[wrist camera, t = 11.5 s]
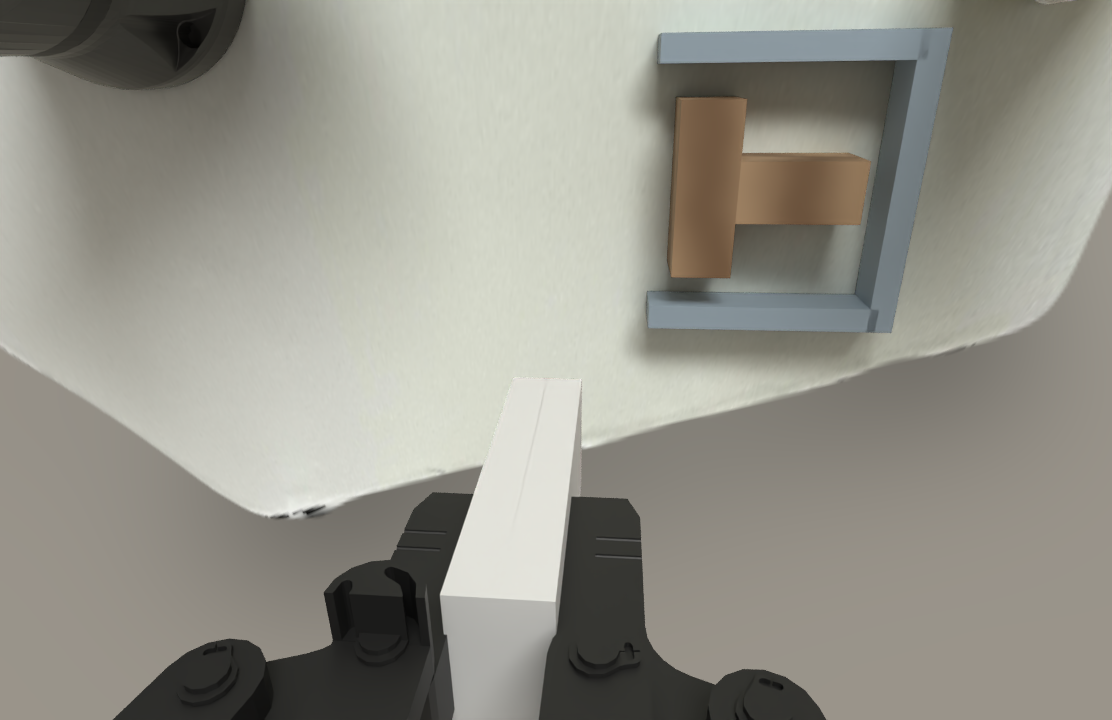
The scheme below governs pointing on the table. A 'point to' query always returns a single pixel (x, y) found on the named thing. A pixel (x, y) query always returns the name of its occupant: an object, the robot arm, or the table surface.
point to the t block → (746, 186)
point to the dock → (893, 186)
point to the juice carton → (1051, 1)
